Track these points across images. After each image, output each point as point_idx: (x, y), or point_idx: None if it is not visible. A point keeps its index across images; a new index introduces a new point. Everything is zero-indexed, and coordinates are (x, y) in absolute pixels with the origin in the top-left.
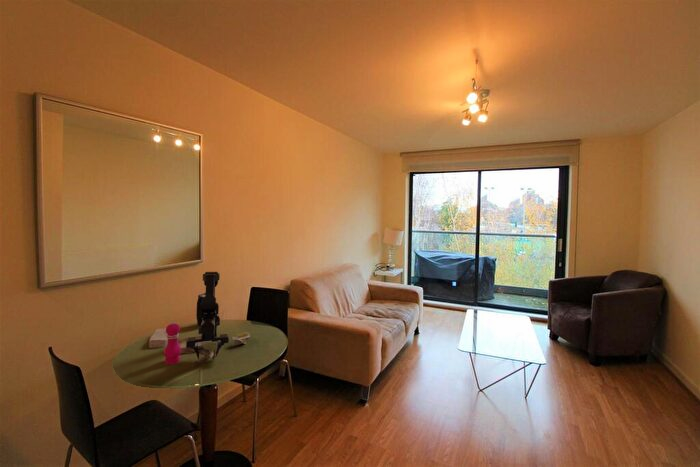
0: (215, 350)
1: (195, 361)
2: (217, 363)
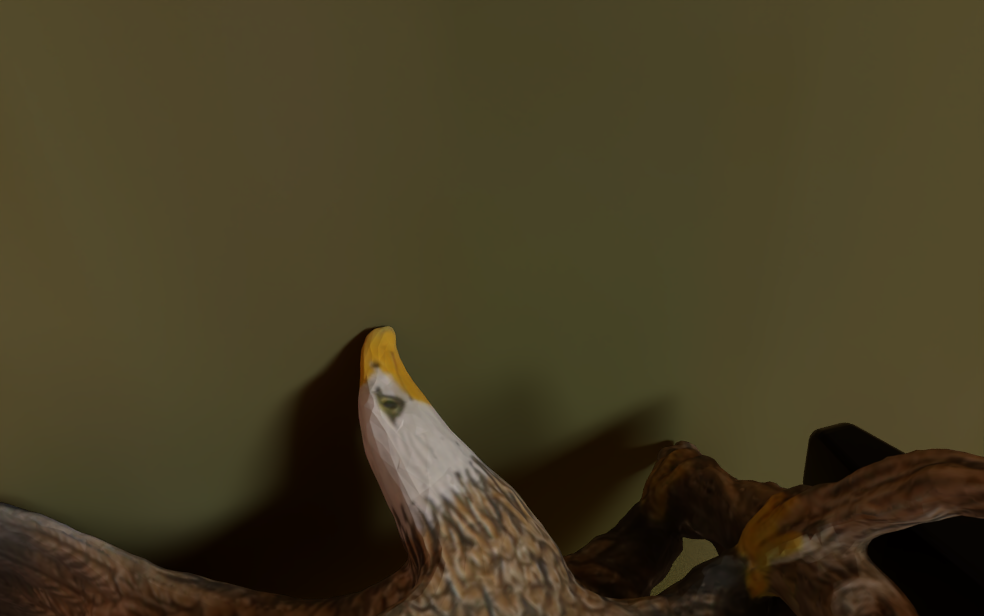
0: (963, 498)
1: (2, 598)
2: None
